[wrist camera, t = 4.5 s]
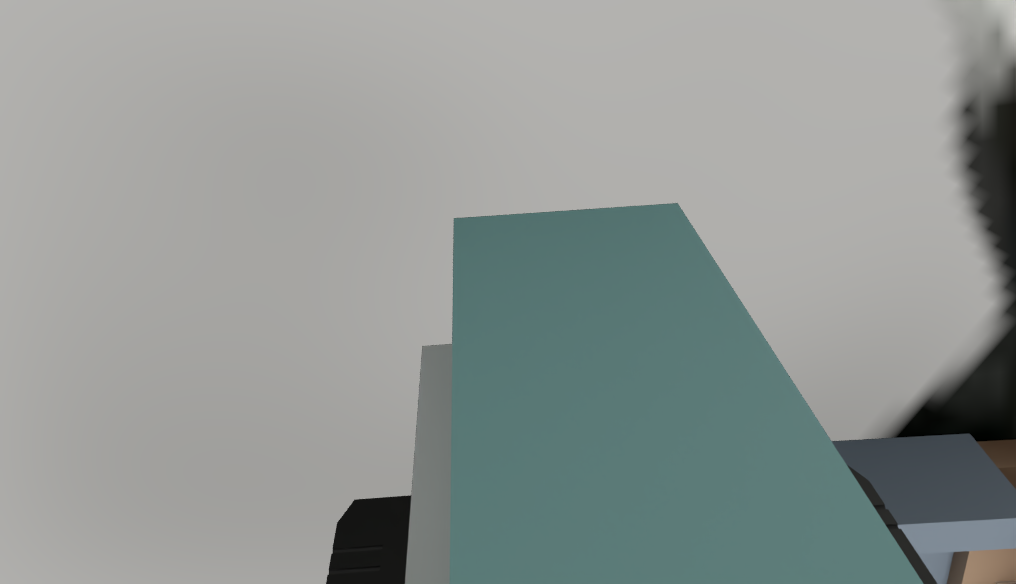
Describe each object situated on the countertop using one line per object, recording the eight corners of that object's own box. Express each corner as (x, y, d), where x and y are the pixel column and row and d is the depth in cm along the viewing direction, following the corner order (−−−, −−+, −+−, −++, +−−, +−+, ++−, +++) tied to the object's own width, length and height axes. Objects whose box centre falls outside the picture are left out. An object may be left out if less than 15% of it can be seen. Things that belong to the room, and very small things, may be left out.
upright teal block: (480, 526, 19) (500, 1134, 10) (453, 218, 16) (448, 690, 7) (667, 512, 19) (857, 1101, 10) (677, 202, 16) (966, 649, 7)
